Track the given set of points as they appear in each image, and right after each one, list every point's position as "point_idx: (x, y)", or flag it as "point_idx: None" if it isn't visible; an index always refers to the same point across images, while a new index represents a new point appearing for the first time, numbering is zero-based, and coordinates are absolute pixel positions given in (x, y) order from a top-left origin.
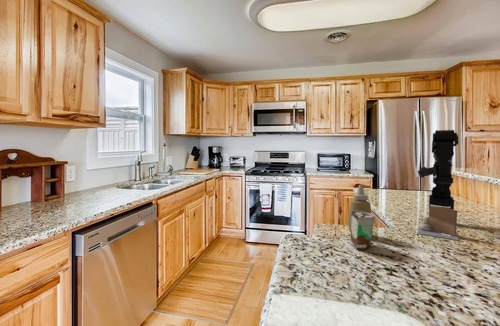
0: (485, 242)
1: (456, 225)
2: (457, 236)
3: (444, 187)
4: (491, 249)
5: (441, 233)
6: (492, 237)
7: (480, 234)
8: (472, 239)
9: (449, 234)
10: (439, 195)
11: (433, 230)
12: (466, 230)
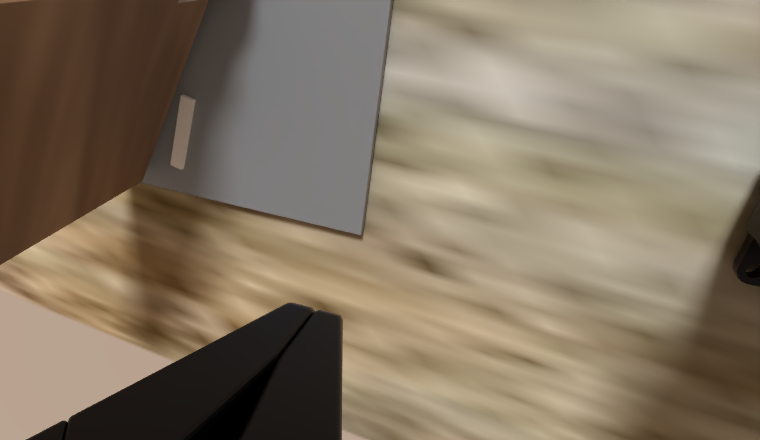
0: (160, 317)
1: (81, 215)
2: (150, 183)
3: None
4: (11, 281)
5: None
6: (351, 421)
7: (405, 387)
8: (184, 269)
9: (177, 138)
10: (208, 353)
11: (240, 20)
12: (511, 345)
